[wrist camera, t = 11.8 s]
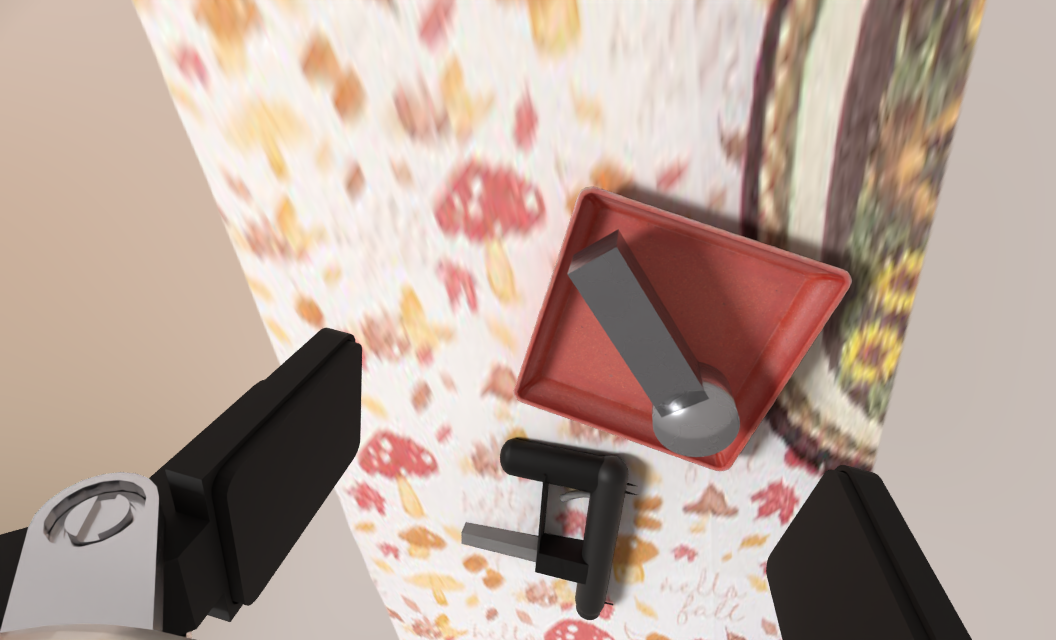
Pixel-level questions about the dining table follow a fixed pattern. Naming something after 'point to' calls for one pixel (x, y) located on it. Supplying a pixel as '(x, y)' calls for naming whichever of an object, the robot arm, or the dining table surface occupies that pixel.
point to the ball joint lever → (656, 351)
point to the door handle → (572, 470)
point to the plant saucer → (677, 320)
